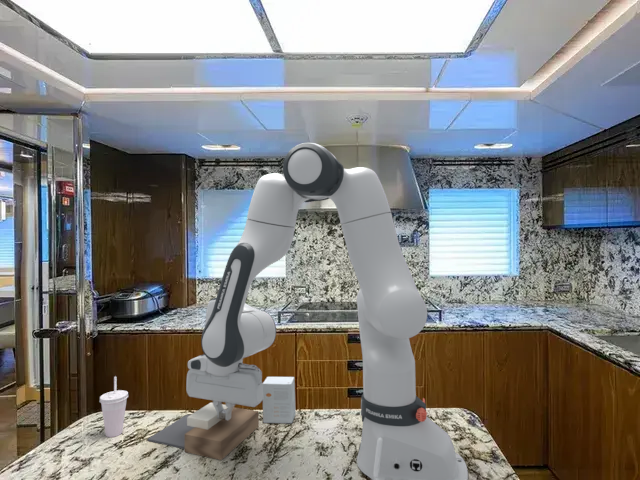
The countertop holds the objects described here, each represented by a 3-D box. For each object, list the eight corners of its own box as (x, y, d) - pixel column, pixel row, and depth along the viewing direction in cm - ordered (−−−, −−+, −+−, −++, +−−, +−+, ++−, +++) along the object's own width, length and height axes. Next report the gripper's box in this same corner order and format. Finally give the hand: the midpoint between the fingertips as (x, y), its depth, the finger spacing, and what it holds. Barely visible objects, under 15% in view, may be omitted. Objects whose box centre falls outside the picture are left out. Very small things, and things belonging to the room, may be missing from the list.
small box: (295, 414, 103) (295, 376, 103) (292, 424, 97) (291, 383, 97) (267, 413, 104) (267, 375, 104) (262, 423, 98) (262, 383, 98)
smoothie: (133, 427, 97) (132, 373, 97) (120, 439, 90) (120, 381, 91) (108, 427, 96) (108, 373, 97) (93, 440, 90) (93, 382, 90)
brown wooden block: (258, 426, 96) (258, 411, 96) (221, 460, 81) (221, 441, 81) (226, 421, 99) (225, 406, 99) (184, 451, 84) (184, 434, 84)
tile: (230, 413, 95) (230, 405, 95) (207, 429, 86) (207, 421, 86) (210, 410, 97) (210, 402, 97) (187, 425, 89) (187, 417, 89)
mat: (223, 422, 98) (223, 420, 98) (187, 449, 85) (187, 447, 85) (187, 416, 103) (187, 414, 103) (147, 440, 90) (147, 438, 90)
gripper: (268, 362, 90) (268, 419, 89) (199, 354, 97) (199, 407, 96) (254, 370, 84) (254, 431, 83) (182, 361, 91) (182, 417, 91)
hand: (224, 418), depth 90 cm, fingers closed
